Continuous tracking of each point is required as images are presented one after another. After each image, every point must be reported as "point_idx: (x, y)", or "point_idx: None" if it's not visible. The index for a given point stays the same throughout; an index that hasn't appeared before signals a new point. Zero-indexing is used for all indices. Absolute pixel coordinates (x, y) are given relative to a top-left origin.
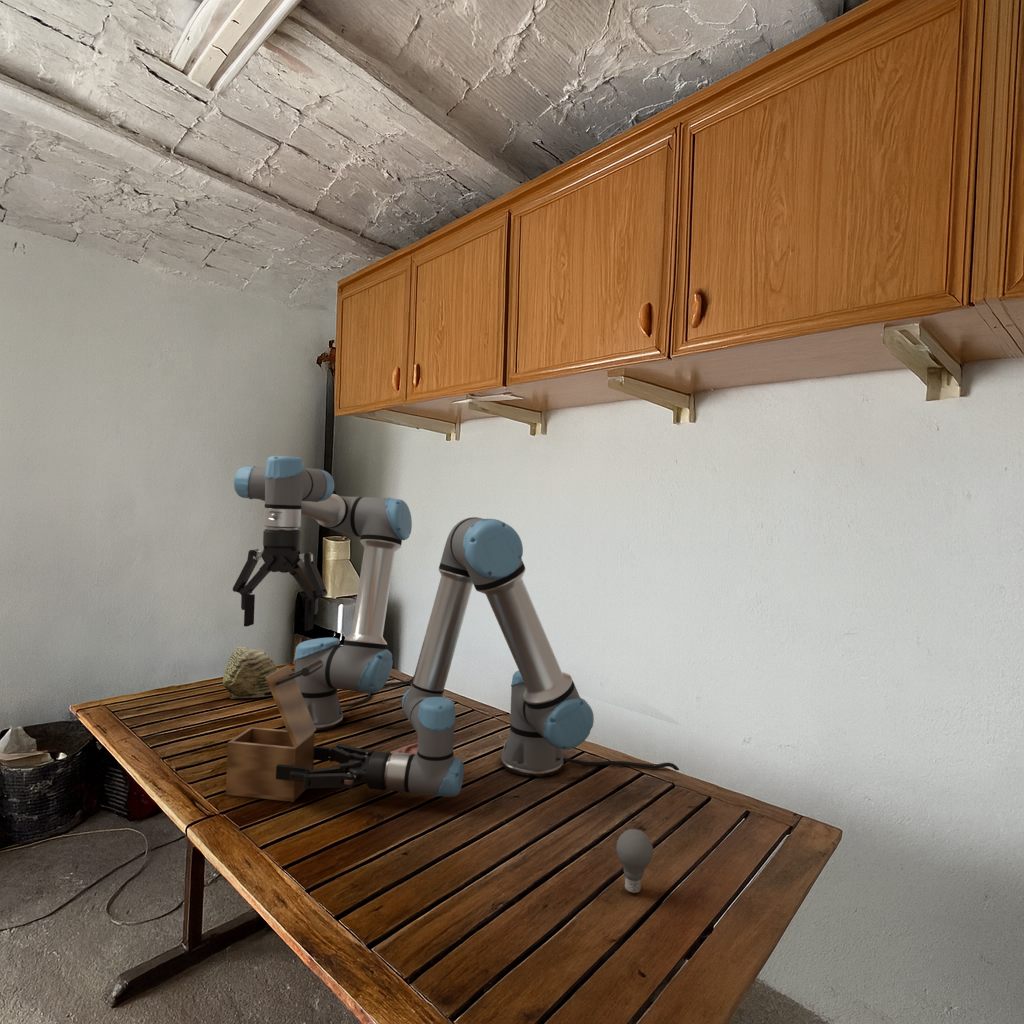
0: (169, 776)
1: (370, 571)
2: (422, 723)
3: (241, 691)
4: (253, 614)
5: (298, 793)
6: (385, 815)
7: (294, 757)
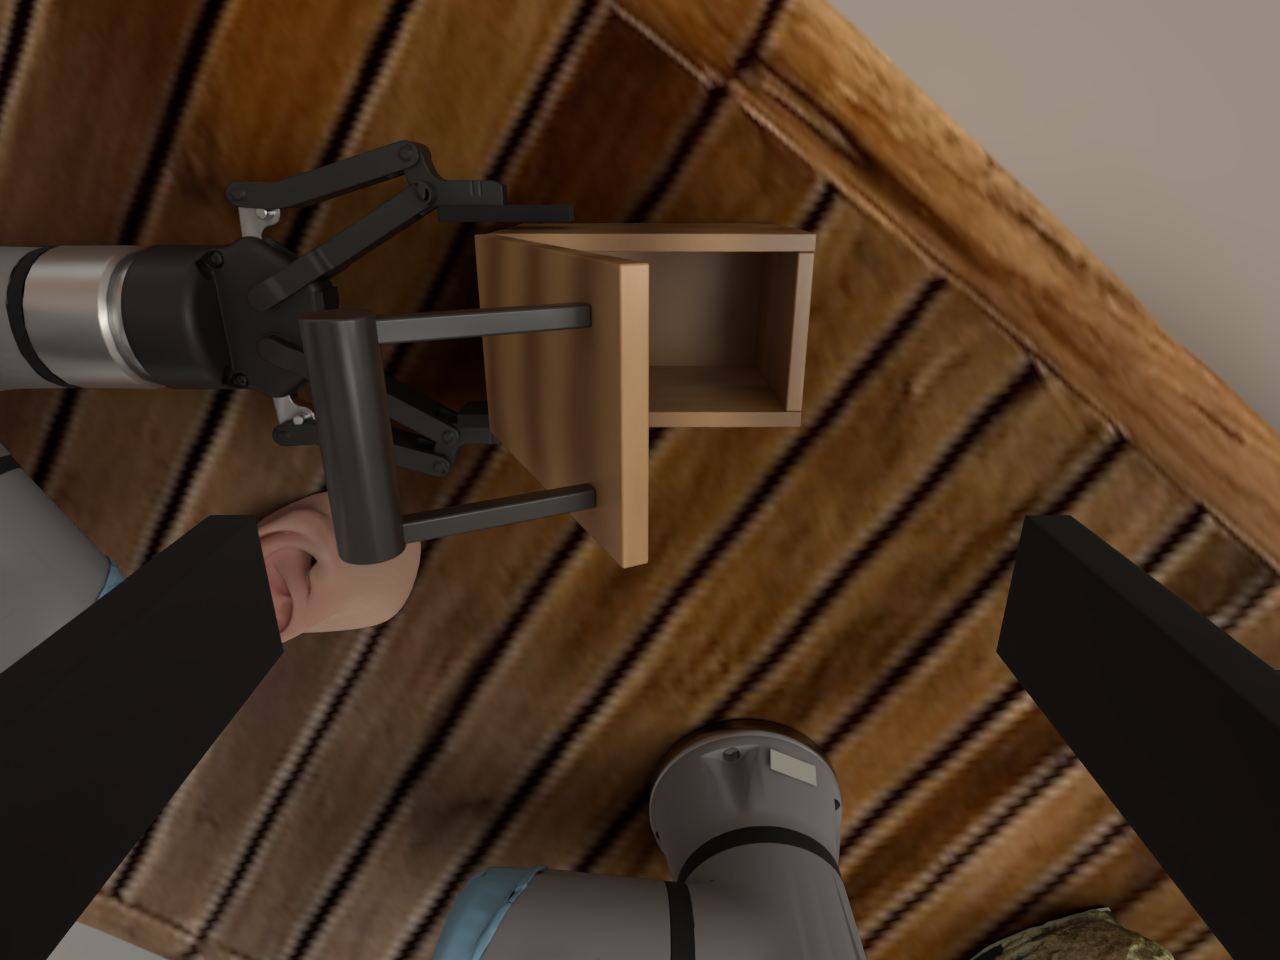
0: (1034, 314)
1: None
2: None
3: (1082, 932)
4: (1064, 721)
5: None
6: (179, 199)
7: (497, 231)
